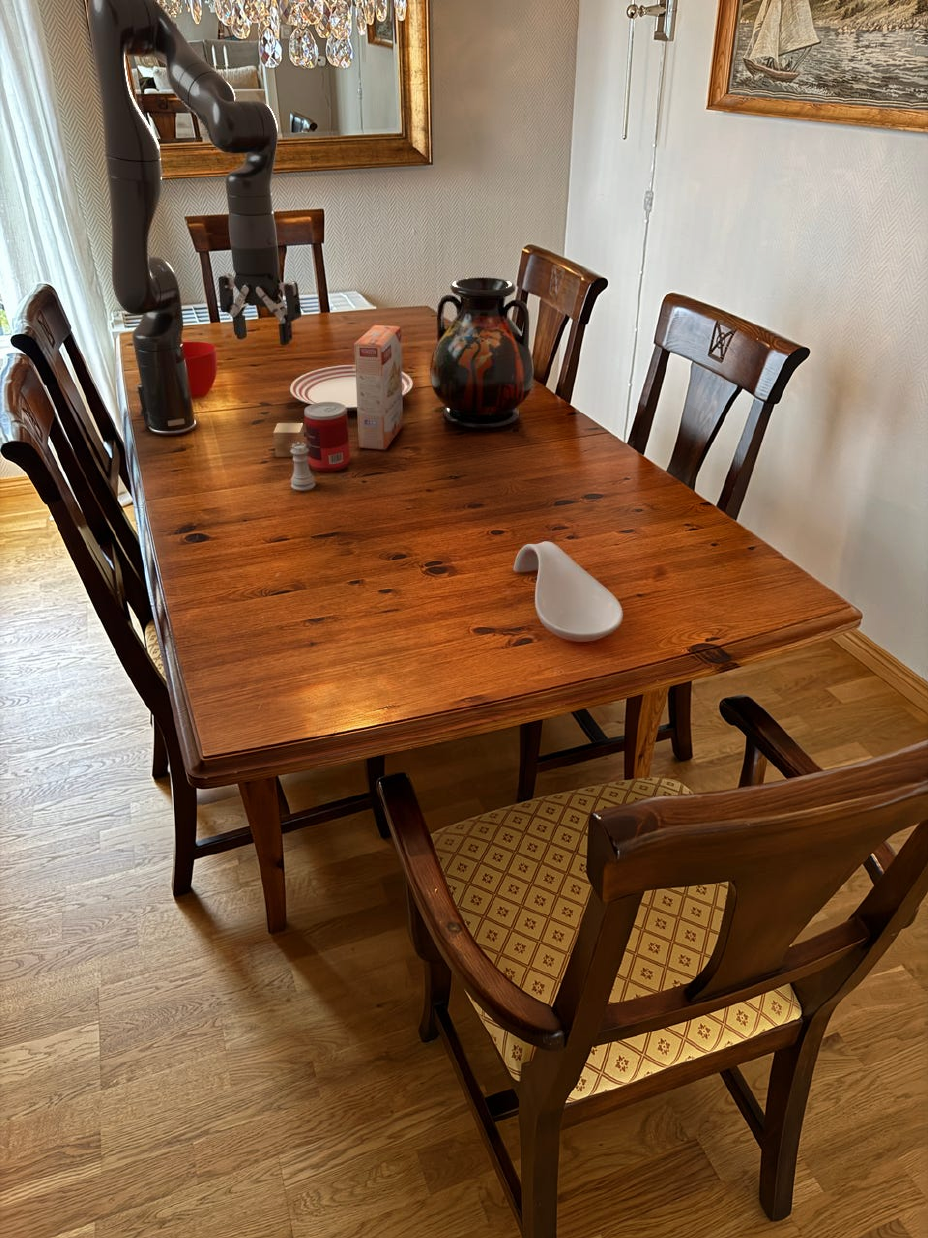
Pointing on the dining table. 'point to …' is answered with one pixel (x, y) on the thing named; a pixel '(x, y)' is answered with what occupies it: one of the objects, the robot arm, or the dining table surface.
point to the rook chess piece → (301, 469)
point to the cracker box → (379, 386)
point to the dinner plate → (334, 386)
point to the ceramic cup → (200, 366)
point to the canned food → (327, 436)
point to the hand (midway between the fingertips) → (263, 341)
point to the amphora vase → (482, 357)
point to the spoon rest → (568, 595)
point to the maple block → (287, 438)
